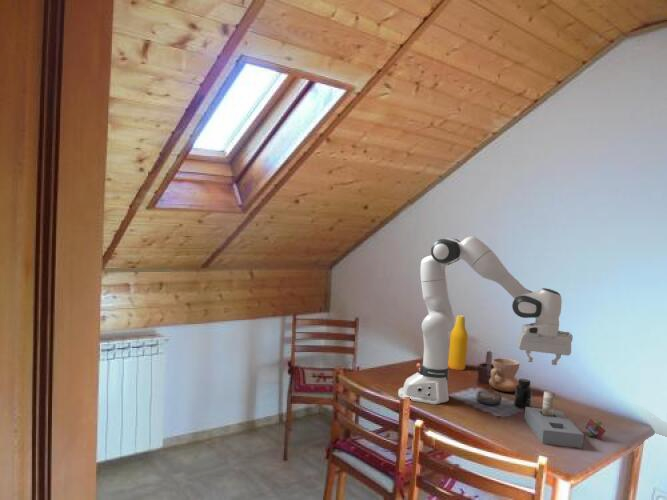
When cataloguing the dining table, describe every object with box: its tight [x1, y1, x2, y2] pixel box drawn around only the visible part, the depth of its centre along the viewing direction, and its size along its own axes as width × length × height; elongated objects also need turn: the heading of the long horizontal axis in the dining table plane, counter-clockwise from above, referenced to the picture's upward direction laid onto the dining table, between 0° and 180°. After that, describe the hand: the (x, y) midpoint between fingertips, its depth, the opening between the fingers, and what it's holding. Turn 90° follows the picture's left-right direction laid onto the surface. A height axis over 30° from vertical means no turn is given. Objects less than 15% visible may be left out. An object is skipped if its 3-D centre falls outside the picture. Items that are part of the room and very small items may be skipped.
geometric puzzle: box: [585, 418, 606, 441], centre depth 193 cm, size 7×7×8 cm
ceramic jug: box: [488, 357, 521, 393], centre depth 245 cm, size 18×14×14 cm
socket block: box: [524, 406, 585, 449], centre depth 195 cm, size 14×24×5 cm, turn 174°
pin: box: [541, 391, 556, 417], centre depth 201 cm, size 4×4×12 cm
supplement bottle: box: [513, 378, 533, 410], centre depth 222 cm, size 7×7×12 cm
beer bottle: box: [448, 314, 468, 371], centre depth 278 cm, size 9×9×29 cm
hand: (541, 363), depth 203 cm, fingers open, 8 cm apart
